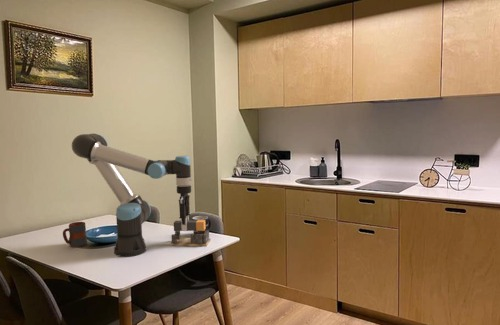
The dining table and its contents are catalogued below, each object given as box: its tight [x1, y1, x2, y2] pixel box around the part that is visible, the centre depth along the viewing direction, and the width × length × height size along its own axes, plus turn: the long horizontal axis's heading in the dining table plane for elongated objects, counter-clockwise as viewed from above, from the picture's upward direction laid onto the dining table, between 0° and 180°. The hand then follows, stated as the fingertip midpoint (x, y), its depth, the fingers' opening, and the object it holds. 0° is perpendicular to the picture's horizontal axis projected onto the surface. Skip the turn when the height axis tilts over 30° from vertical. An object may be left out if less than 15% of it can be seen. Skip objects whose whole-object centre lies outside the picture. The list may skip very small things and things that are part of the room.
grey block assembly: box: [170, 229, 211, 247], centre depth 199 cm, size 19×10×6 cm, turn 86°
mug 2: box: [191, 215, 211, 234], centre depth 215 cm, size 12×9×10 cm
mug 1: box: [62, 221, 88, 248], centre depth 197 cm, size 9×12×12 cm
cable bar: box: [173, 219, 206, 232], centre depth 199 cm, size 16×5×5 cm, turn 86°
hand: (185, 229), depth 199 cm, fingers closed on cable bar, 4 cm apart
